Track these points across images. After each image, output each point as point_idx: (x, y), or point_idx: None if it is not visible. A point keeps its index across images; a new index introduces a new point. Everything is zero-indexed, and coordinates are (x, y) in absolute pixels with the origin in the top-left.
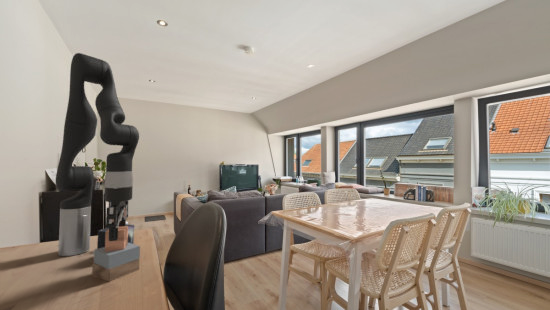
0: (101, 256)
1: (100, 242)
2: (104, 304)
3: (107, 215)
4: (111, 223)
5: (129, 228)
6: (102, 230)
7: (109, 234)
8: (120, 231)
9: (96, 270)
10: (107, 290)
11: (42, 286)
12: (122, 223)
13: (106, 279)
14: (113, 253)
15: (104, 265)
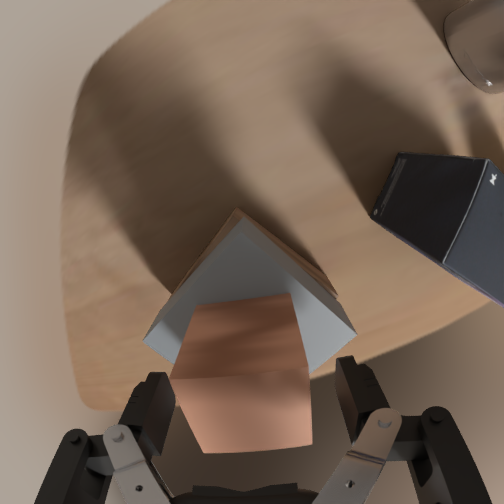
0: (188, 285)
1: (435, 174)
2: (68, 323)
3: (42, 497)
4: (142, 458)
5: (499, 304)
6: (485, 188)
7: (140, 398)
8: (198, 435)
9: (215, 236)
10: (120, 308)
11: (176, 78)
12: (351, 424)
13: (180, 282)
14: (165, 350)
15: (177, 291)
